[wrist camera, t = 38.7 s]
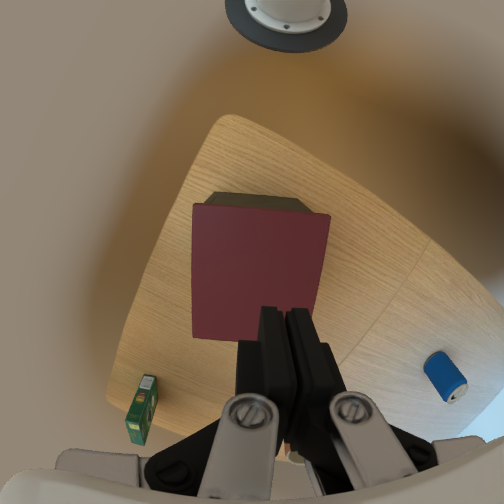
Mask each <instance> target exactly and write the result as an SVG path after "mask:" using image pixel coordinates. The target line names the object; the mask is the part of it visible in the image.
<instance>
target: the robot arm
mask: <svg viewBox="0 0 504 504" xmlns="http://www.w3.org/2000/svg"><path fill="white" fill-rule="evenodd" d="M245 6H246V9H247V11H248V13H249V14H250V15H251V17H252V18H253V19H254V20H255V21H256V22H258V23H259V24H261V25H262V26H264V27H266V28H268V29H270V30H273V31H277V32H280V33H286V34H302V33H307V32H311V31H313V30H316V29H318V28H319V27H320V26H322V25H323V24H324V23H325V22H326V20H327V19H328V17H329V15H330V12H331V4H330V0H245ZM285 28H287V29H285ZM283 439H284V443H285V444H290V452H296V451H298V454H299V455H300V456H302V457H303V458H305V459H304V463H305V467H306V470H307V473H308V475H309V478H310V481H311V483H312V486H313V489H314V492H315V495H316V497H310V498H301V499H289V500H288V499H287V500H270V496H271V487H272V480H273V471H274V462H275V457H276V456H277V455H278V453H279V450H280V447H281V444H282V441H283ZM0 504H504V436H502V437H500V438H497V439H494V440H492V441H490V442H488V443H486V442H485V441H484V440H483V439H482V438H480V437H478V436H466V437H460V438H453V439H445V440H436V441H433V442H432V443H431V444H430V443H429V442H427V441H426V440H424V439H421V438H419V437H417V436H414V435H412V434H410V433H408V432H406V431H403V430H401V429H399V428H397V427H395V426H393V425H390V424H388V423H387V421H386V420H385V418H384V417H383V415H382V413H381V412H380V410H379V409H378V407H377V406H376V404H375V403H374V402H373V400H372V399H371V398H369V397H368V396H366V395H365V394H362V393H359V392H354V391H347V390H346V387H345V384H344V382H343V379H342V377H341V374H340V371H339V369H338V366H337V364H336V361H335V358H334V356H333V353H332V351H331V348H330V346H329V344H328V343H320V340H319V338H318V335H317V332H316V329H315V327H314V324H313V321H312V319H311V316H310V313H309V310H308V308H294V307H292V309H291V311H286V314H285V319H284V316H283V312H282V311H278V310H277V307H274V306H261V311H260V319H259V327H258V335H257V341H252V340H239V341H238V352H237V367H236V388H235V396H234V397H232V398H231V399H229V400H228V401H227V402H226V404H225V406H224V408H223V411H222V415H221V418H220V419H218V420H216V421H215V422H213V423H211V424H210V425H208V426H206V427H205V428H203V429H201V430H199V431H198V432H196V433H194V434H192V435H191V436H189V437H187V438H185V439H184V440H182V441H180V442H178V443H176V444H174V445H172V446H170V447H168V448H166V449H165V450H162V451H161V452H158V453H156V454H155V455H154V456H152V457H139V456H138V455H137V454H122V453H109V452H99V451H90V450H84V449H68V450H65V451H63V452H62V453H61V454H60V455H59V456H58V458H57V461H56V465H55V469H29V470H24V471H21V472H19V473H17V474H15V475H14V476H13V477H11V478H10V480H8V482H7V483H6V484H5V486H4V487H3V488H2V490H1V491H0Z"/></svg>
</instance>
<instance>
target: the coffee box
mask: <svg viewBox="0 0 504 504" xmlns="http://www.w3.org/2000/svg"><path fill="white" fill-rule="evenodd" d="M157 402H158V394H157V386H156V377H155V376H150V375H145V374H144V376H143V378H142V380H141V382H140V385H139V387H138V390H137V392H136V394H135V397H134V399H133V402H132V404H131V406H130V409H129V411H128V414H127V416H126V418H125V423H126V426H127V429H128V433H129V436H130V439H131V442H132V443H134V444H138V445H142V446H144V445H145V443H146V439H147V436H148V432H149V428H150V425H151V422H152V419H153V415H154V412H155V409H156V405H157Z"/></svg>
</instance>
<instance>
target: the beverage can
mask: <svg viewBox="0 0 504 504" xmlns="http://www.w3.org/2000/svg"><path fill="white" fill-rule="evenodd" d="M424 372H425V373H426V375H427V376H428V378H429V379H430V381H431V382H432V384H433V385H434V387H435V388H436V390H437V391H438V393H439V394H440V396H441V397H442V399H443V400H444V401H445V402H447V403H448V404H452V403H454V402H456V401H458V400H459V399H460V398H461V397H462V396H463V395H464V394H465V393H466V391H467V389H468V384H467V380H466V378H465V377H464V376H463V375H462V373H461V372H460V371H459V369H458V368H457V367H456V366H455V364H454V363H453V362H452V361H451V360H450V358H449V357H448V356H447V355H446V353H444V352H439V353H435V354H434V355H432V356H431V357H430V358H429V359H428V360H427V362H426V364H425V367H424Z"/></svg>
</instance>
